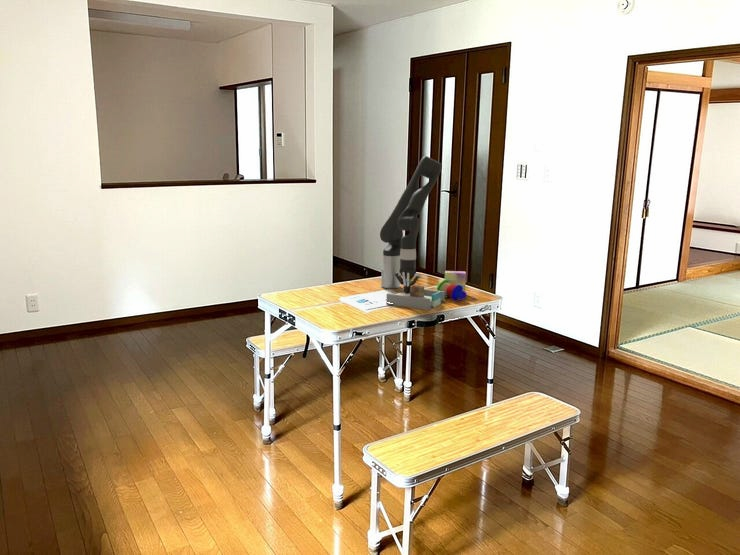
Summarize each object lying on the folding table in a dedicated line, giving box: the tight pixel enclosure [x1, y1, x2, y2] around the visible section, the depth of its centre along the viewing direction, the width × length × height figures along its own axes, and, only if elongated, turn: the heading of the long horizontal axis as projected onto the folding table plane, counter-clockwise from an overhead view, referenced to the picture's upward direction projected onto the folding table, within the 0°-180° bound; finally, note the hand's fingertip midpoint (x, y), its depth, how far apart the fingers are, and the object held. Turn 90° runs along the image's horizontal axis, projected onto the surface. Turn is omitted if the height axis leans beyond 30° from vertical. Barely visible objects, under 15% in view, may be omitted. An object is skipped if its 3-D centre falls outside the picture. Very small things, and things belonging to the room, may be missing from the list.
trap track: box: [386, 286, 446, 311], centre depth 297 cm, size 22×18×6 cm
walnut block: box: [410, 284, 425, 298], centre depth 296 cm, size 5×5×5 cm
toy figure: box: [436, 279, 467, 302], centre depth 304 cm, size 9×10×15 cm
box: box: [444, 270, 467, 292], centre depth 313 cm, size 10×6×12 cm, turn 84°
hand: (407, 293), depth 298 cm, fingers closed
